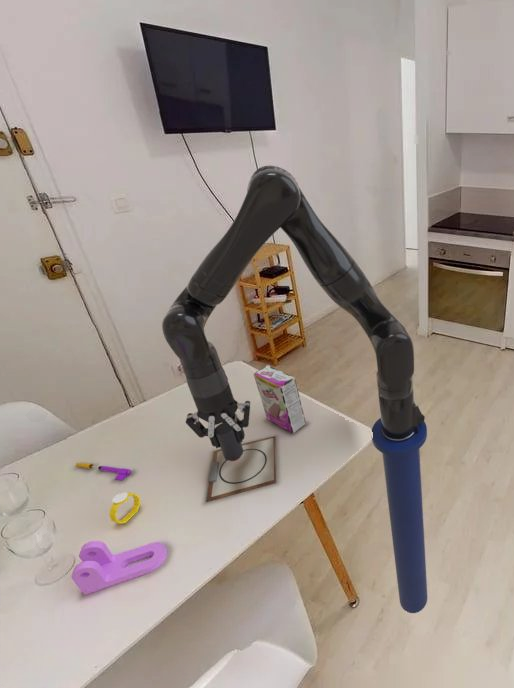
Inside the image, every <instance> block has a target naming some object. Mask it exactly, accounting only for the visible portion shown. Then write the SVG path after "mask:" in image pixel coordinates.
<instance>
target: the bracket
mask: <svg viewBox="0 0 514 688" xmlns="http://www.w3.org/2000/svg"><path fill="white" fill-rule="evenodd" d="M167 556H168V550H167V548H166V546H165V545H164V543H162V542H160V541H154V542H150V543H147V544H144V545H141V546H138V547H135V548H132V549H129V550H126V551H123V552H119V553H116V554H113V553H112V552H111V550H110V549H109V548H108V546H107V544H106V543H105V542H103V541H101V540H91V541H88V542H85V543H84V544H83V545H82V546H81V548H80V551H79V554H78V558H79V559H80V560H81V562H79V563H77V564H76V565H75V566H74V567H73V571H72V573H71V576H70V578H71V580H72V581H73V582H74V584H75V585H76V586H77V587H78V589H79V590H80V591H81V592H82V593H83V595H84V596H87V595H89V594H92V593H95V592H99V591H100V590H104V589H107V588H109V587H112V586H115V585H119V584H121V583H123V582H126V581H127V582H128V581H129V580H132V579H135V578H138V577H141V576H143V575H147V574H149V573H152V572H154V571H156V570H157V569H158V568H160V567H161V565H162V564H163V563H164V562H165V561H166V559H167ZM149 557H150V558H149ZM147 558H149V559H147ZM143 559H146V560H143ZM140 560H143V561H140ZM138 561H140V562H138ZM134 562H137V563H134ZM132 563H134V564H132ZM129 564H131V565H129ZM127 565H129V566H127Z"/></svg>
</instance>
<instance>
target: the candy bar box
mask: <svg viewBox="0 0 514 688" xmlns="http://www.w3.org/2000/svg"><path fill="white" fill-rule="evenodd" d="M253 377H254V381H255V384H256V387H257V391H258V394H259V396H260V400H261V403H262V406H263V410H264V414H265V416H266V419H267V421H269V422H271V423H273V424H275V425H277V426H279V427H280V428H281V429H284V430H286V431H287V432H290V433H291V434H295V433H297V431H299V430H300V429H302V428H303V427H304V426H306V424H307V422H306V418H305V414H304V410H303V406H302V402H301V397H300V393H299V389H298V385H297V382H296V377H294V376H292V375H290V374H288V373H286V372H284V371H281V370H279V369H277V368H275V367H273V366H271V365H269V364H268V365H266V366H264V367H262V368H261V369H259V370H256V371H255V372H254V373H253Z"/></svg>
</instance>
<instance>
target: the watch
mask: <svg viewBox="0 0 514 688" xmlns="http://www.w3.org/2000/svg"><path fill="white" fill-rule="evenodd" d="M130 497H132V498H133V506H132V508H131V510H130V511H129V512H128V513H127V514H126V515H125V516H124V517H123V518H121V519H119V520H118V517H117V511H118V508H119V507H120V505H122V504H125V503H126V502H127V501H128V500H129V498H130ZM111 501H112V502H111V503H112V505H111V507H110V510H109V518H110V521H111V522H113V523H115V524H119V525H122V524H127V523H128V521H130V519H131V518H132V517H133V516H135V515H136V514H137V513H138V511H139V508H140V506H141V498H140V496H139V495H138V494H137V493H133V492H120V493H118V494H116V495H115V496H113V498H112V500H111Z"/></svg>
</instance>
